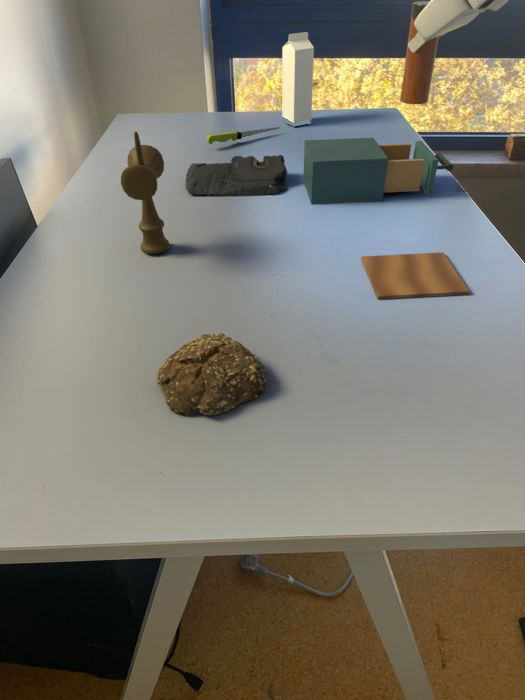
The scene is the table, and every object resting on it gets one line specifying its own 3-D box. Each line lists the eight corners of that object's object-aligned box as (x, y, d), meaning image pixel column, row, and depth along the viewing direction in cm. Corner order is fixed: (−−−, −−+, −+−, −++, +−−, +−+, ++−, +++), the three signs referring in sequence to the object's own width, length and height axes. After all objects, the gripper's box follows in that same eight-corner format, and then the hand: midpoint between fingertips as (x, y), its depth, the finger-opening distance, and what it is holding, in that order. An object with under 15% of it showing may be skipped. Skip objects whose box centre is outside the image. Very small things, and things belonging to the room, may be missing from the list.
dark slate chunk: (189, 170, 119) (187, 149, 116) (284, 167, 120) (284, 147, 116) (183, 197, 108) (180, 175, 105) (288, 194, 108) (288, 172, 105)
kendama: (174, 235, 94) (158, 121, 82) (170, 262, 87) (151, 140, 74) (142, 237, 94) (120, 122, 82) (134, 263, 87) (110, 142, 74)
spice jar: (423, 96, 97) (438, 0, 87) (432, 103, 93) (449, 4, 83) (396, 97, 97) (408, 1, 87) (403, 105, 93) (417, 5, 83)
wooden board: (442, 255, 87) (443, 252, 87) (469, 294, 78) (470, 291, 78) (360, 259, 87) (361, 256, 86) (377, 299, 77) (378, 296, 77)
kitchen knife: (277, 137, 140) (278, 125, 138) (280, 138, 139) (281, 127, 138) (206, 147, 130) (206, 134, 128) (208, 148, 129) (208, 136, 127)
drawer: (434, 171, 114) (440, 139, 109) (452, 192, 105) (460, 158, 100) (355, 175, 113) (358, 143, 109) (366, 196, 104) (370, 162, 100)
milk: (311, 124, 145) (315, 33, 131) (293, 128, 143) (295, 35, 128) (299, 119, 149) (301, 30, 135) (281, 122, 147) (282, 32, 132)
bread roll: (224, 338, 71) (222, 308, 68) (280, 387, 63) (280, 356, 60) (140, 376, 65) (133, 346, 62) (190, 436, 57) (185, 404, 54)
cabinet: (368, 177, 114) (373, 137, 109) (382, 201, 104) (388, 158, 99) (303, 180, 114) (304, 140, 108) (311, 204, 104) (312, 161, 98)
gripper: (499, -46, 84) (431, 21, 95) (456, -37, 72) (383, 38, 83) (520, -12, 85) (450, 50, 96) (480, 3, 73) (405, 72, 83)
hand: (418, 45), depth 89 cm, fingers closed on spice jar, 5 cm apart
